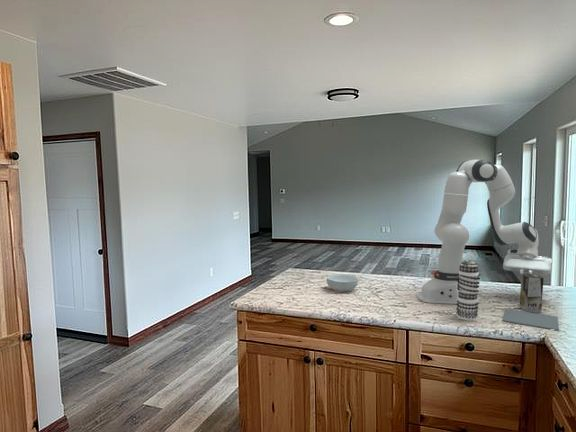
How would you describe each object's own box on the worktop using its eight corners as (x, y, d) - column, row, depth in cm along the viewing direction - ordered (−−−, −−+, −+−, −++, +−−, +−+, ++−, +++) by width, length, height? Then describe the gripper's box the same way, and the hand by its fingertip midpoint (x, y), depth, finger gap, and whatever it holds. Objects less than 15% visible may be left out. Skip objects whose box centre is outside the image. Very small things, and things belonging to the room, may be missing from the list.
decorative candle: (483, 320, 169) (485, 262, 167) (462, 321, 169) (464, 263, 166) (471, 313, 178) (473, 258, 176) (451, 313, 178) (453, 258, 175)
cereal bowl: (322, 292, 212) (322, 279, 211) (331, 284, 227) (331, 272, 227) (354, 296, 206) (354, 282, 205) (360, 288, 221) (360, 275, 220)
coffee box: (542, 313, 179) (544, 278, 177) (526, 312, 180) (528, 277, 179) (533, 306, 188) (535, 273, 186) (519, 306, 189) (520, 272, 188)
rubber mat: (558, 331, 157) (559, 329, 157) (501, 321, 168) (502, 320, 168) (557, 317, 173) (557, 316, 172) (505, 309, 183) (505, 308, 183)
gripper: (551, 261, 195) (551, 285, 187) (504, 257, 206) (502, 279, 198) (552, 253, 191) (551, 277, 183) (504, 249, 202) (501, 272, 194)
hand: (525, 278), depth 191 cm, fingers closed
